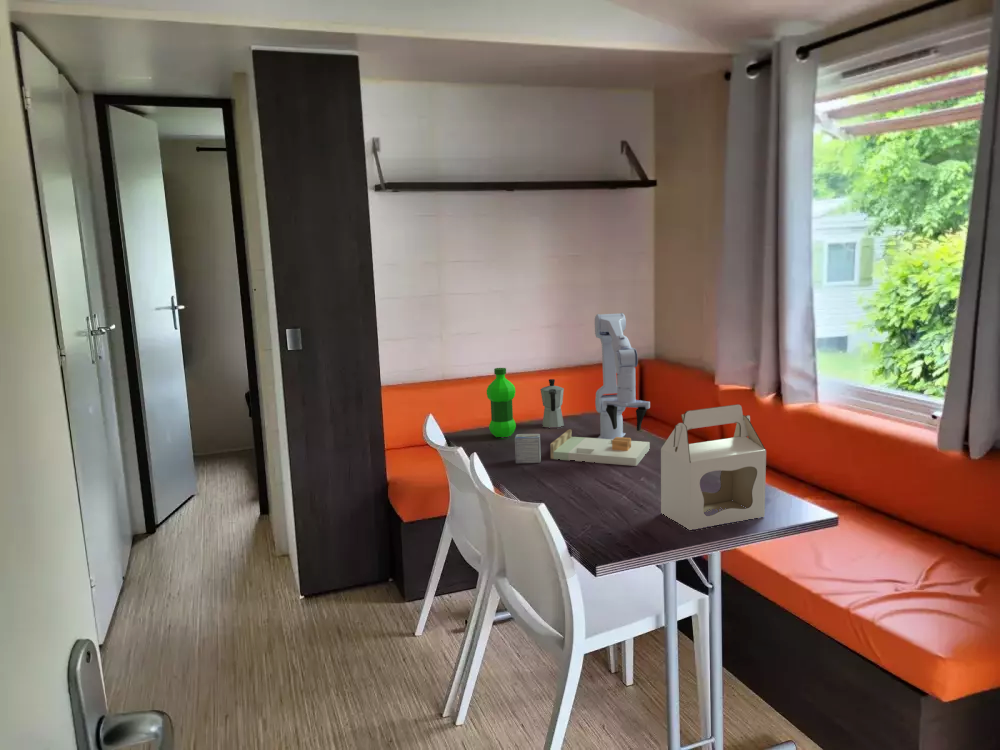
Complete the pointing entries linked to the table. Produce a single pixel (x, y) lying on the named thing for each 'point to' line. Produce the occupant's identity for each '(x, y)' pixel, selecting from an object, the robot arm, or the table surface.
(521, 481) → the table surface
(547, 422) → the coffee maker
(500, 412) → the plastic bottle
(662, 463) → the gable box
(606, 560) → the table surface
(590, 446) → the deck
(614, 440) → the block
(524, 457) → the medicine box
